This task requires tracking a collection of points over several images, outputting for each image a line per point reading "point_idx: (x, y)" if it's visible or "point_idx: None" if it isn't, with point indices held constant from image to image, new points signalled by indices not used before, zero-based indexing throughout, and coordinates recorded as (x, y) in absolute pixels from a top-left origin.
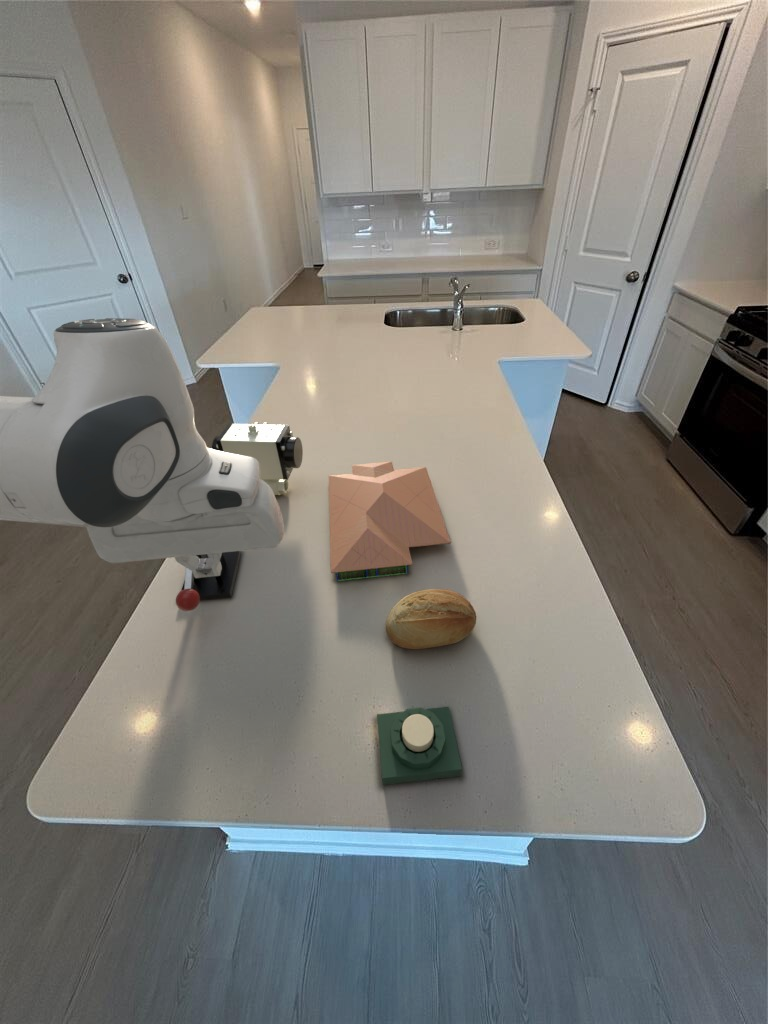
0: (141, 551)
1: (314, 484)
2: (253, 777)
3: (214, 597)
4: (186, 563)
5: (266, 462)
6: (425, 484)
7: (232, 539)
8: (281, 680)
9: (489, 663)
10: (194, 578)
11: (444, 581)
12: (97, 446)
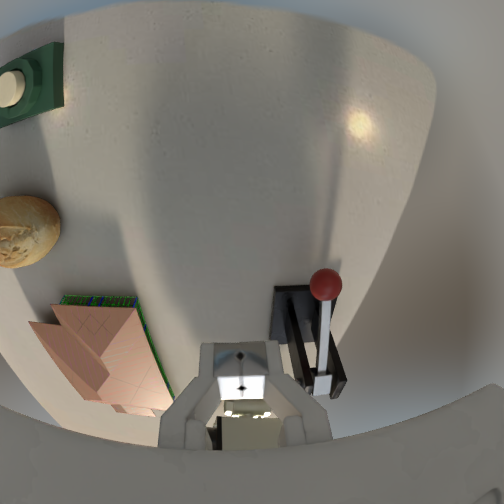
0: (437, 454)
1: None
2: (208, 35)
3: (296, 287)
4: (293, 402)
5: (238, 437)
6: (74, 385)
7: (66, 490)
8: (184, 157)
9: None
10: None
11: (30, 279)
12: None
